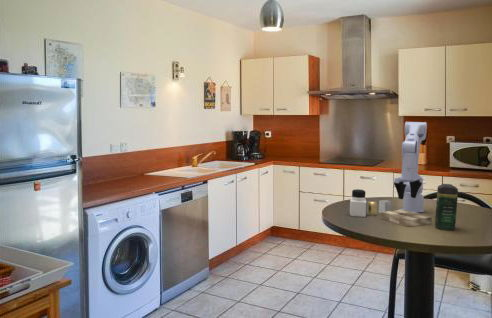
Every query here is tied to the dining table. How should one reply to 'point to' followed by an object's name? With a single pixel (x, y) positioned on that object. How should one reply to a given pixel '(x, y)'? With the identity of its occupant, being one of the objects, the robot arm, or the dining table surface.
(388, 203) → the steel square peg
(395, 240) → the dining table surface
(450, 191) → the coffee jar
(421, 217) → the bore block
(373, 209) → the brass round peg
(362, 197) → the medicine bottle
